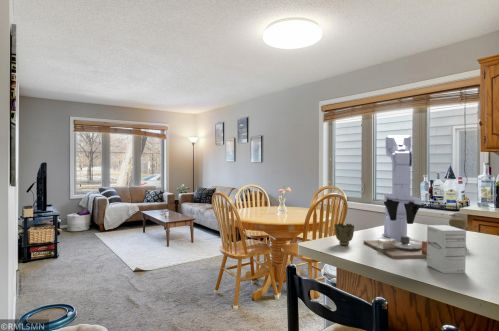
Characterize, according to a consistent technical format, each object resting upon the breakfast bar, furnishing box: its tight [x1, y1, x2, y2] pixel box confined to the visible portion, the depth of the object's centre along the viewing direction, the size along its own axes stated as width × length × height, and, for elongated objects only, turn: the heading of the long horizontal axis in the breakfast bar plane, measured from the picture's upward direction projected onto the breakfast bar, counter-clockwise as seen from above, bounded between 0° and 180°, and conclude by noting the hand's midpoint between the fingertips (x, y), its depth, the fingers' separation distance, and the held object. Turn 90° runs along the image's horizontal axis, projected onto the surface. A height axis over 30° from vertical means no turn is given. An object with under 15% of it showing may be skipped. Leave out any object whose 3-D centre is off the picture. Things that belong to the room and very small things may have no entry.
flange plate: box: [377, 238, 422, 250], centre depth 113 cm, size 16×11×3 cm, turn 107°
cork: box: [448, 217, 466, 230], centre depth 117 cm, size 6×6×11 cm
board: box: [363, 235, 427, 260], centre depth 113 cm, size 20×22×5 cm
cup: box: [333, 222, 355, 247], centre depth 119 cm, size 8×7×8 cm
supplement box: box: [426, 224, 467, 274], centre depth 92 cm, size 7×7×13 cm
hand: (401, 222), depth 111 cm, fingers open, 7 cm apart
